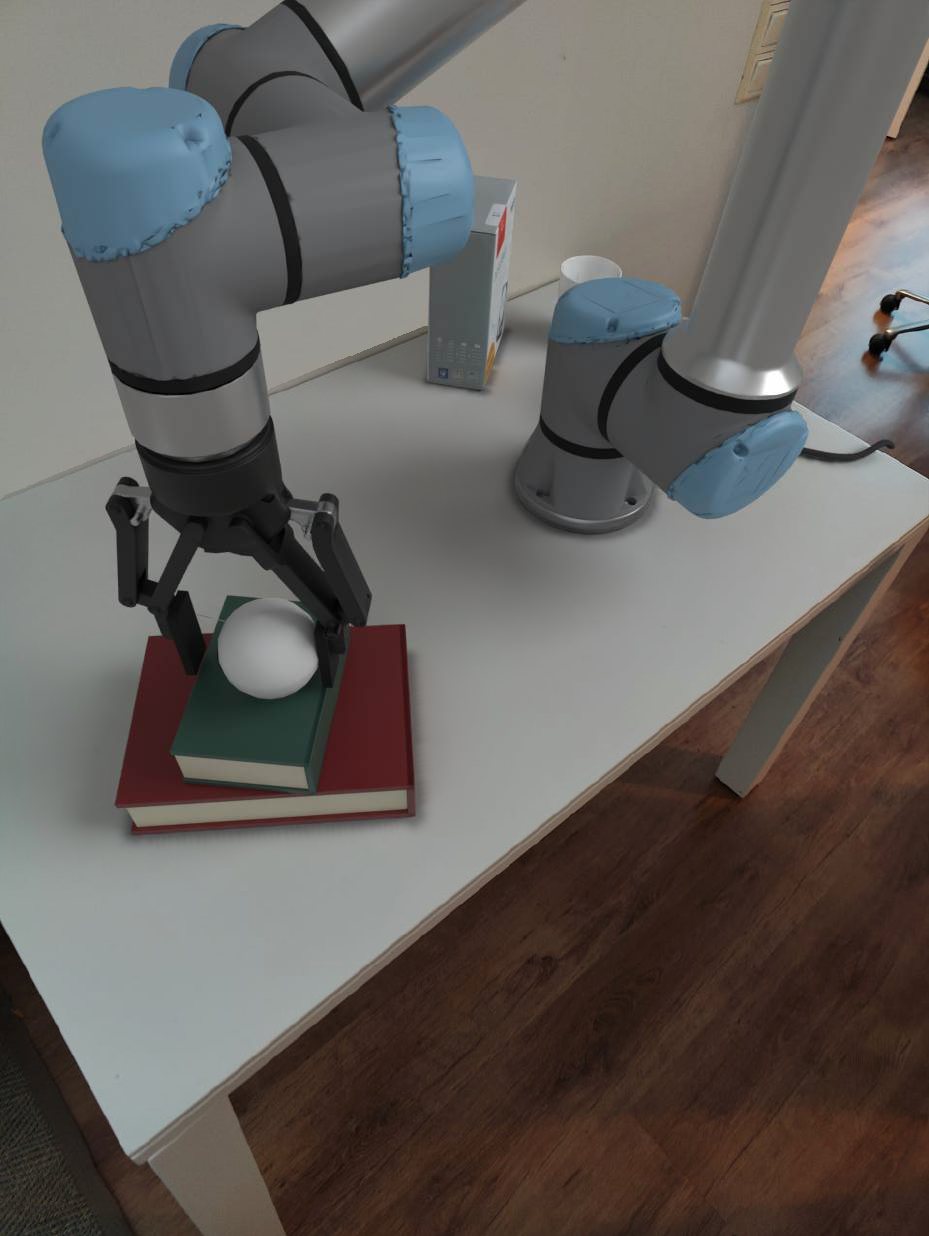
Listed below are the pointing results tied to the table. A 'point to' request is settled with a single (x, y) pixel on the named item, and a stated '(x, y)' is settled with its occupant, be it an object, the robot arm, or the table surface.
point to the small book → (254, 727)
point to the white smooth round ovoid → (268, 648)
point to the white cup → (585, 271)
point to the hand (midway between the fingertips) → (263, 667)
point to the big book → (348, 790)
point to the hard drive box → (472, 292)
